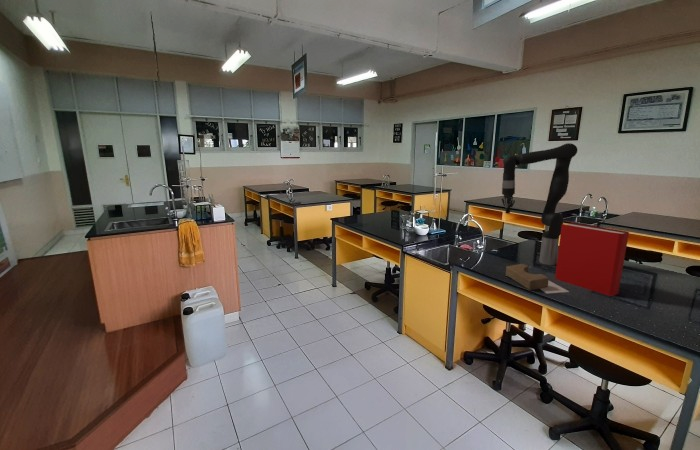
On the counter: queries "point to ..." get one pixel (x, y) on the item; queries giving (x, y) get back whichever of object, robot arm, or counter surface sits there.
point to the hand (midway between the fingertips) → (507, 213)
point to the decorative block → (526, 277)
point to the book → (591, 257)
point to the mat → (553, 288)
